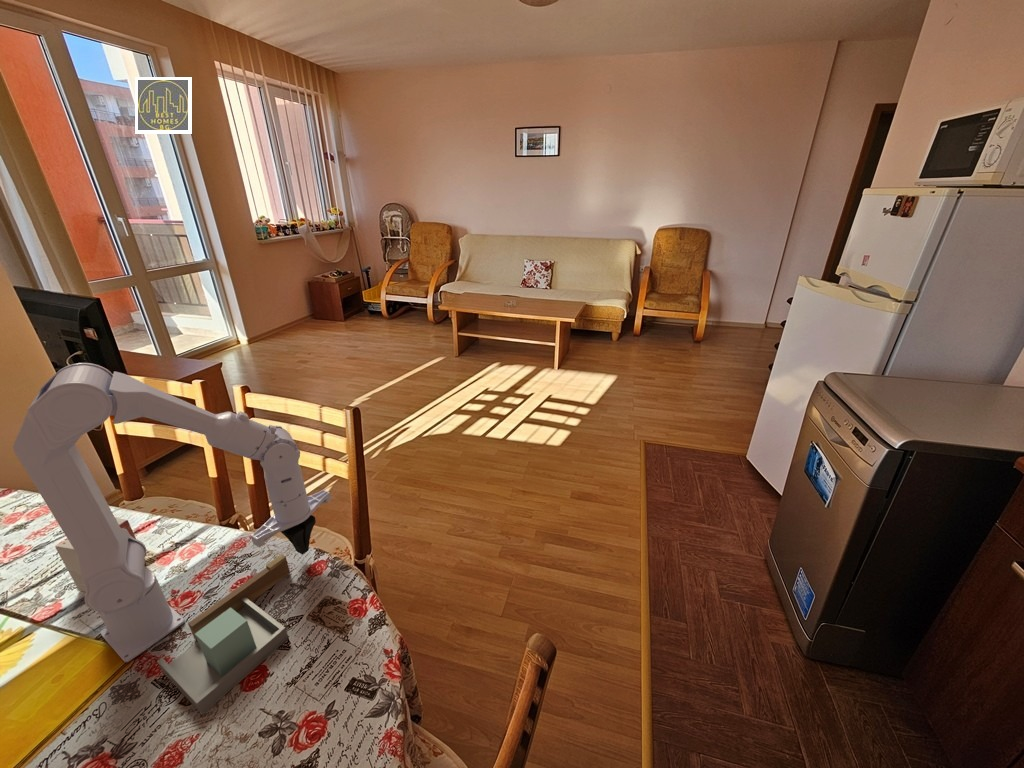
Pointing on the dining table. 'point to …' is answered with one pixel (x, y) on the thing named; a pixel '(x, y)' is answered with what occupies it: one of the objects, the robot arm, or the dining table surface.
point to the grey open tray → (210, 686)
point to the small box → (72, 558)
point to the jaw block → (226, 641)
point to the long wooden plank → (244, 593)
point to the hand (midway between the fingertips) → (302, 550)
